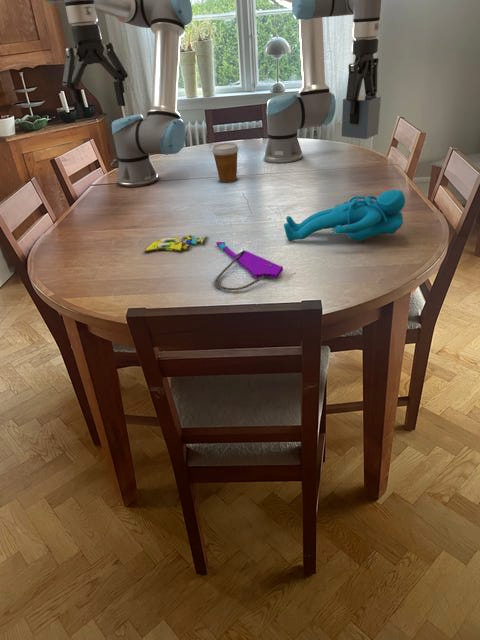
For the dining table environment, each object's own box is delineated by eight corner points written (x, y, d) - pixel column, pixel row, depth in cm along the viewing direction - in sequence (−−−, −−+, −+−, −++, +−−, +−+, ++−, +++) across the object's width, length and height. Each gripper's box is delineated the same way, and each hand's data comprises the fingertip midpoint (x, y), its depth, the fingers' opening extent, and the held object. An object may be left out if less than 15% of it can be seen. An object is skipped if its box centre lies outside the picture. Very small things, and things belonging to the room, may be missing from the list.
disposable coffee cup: (210, 183, 175) (207, 149, 168) (221, 175, 182) (218, 142, 175) (235, 184, 171) (232, 149, 165) (244, 176, 178) (242, 142, 172)
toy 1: (199, 248, 125) (143, 249, 127) (199, 251, 125) (144, 252, 127) (206, 233, 133) (154, 234, 135) (206, 236, 133) (154, 237, 136)
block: (366, 139, 151) (369, 100, 145) (341, 136, 157) (342, 99, 150) (378, 134, 156) (381, 96, 149) (353, 131, 161) (355, 95, 155)
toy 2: (287, 204, 132) (400, 176, 122) (297, 239, 137) (406, 215, 127) (278, 228, 119) (405, 199, 108) (290, 266, 124) (412, 242, 113)
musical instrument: (257, 302, 103) (298, 254, 115) (255, 294, 102) (297, 246, 114) (172, 286, 116) (218, 244, 128) (170, 279, 114) (216, 237, 127)
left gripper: (48, 27, 118) (72, 119, 130) (130, 20, 133) (144, 102, 145) (34, 29, 123) (57, 117, 134) (114, 21, 137) (129, 101, 149)
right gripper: (358, 42, 133) (354, 128, 145) (393, 34, 145) (386, 115, 157) (335, 42, 137) (332, 126, 150) (371, 35, 149) (366, 113, 162)
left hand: (102, 110), depth 139 cm, fingers open, 13 cm apart
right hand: (360, 120), depth 154 cm, fingers closed on block, 7 cm apart
